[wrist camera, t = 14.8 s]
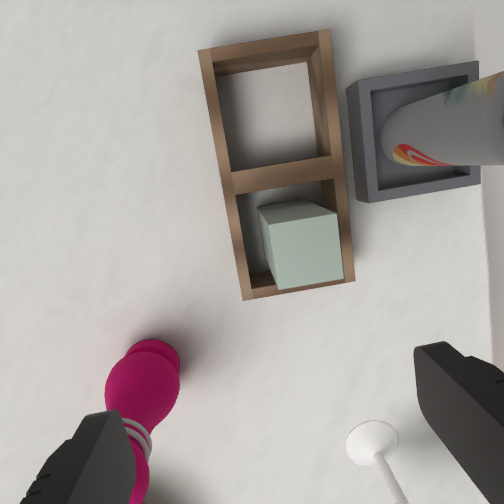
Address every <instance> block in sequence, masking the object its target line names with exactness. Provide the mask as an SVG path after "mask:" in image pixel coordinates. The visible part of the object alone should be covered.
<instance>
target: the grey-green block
mask: <svg viewBox="0 0 504 504" xmlns="http://www.w3.org/2000/svg"><path fill="white" fill-rule="evenodd" d="M257 212H258V218H259V224H260V231H261V237H262V243H263V249H264V254H265V257H266V259H267V262H268V264H269V267H270V270H271V272H272V275H273V277H274V280H275V282H276V285H277V287H278V290H281V289H287V288H293V287H299V286H304V285H310V284H316V283H322V282H327V281H333V280H339V279H344V276H343V267H342V257H341V248H340V239H339V230H338V220H337V213H335V212H332V211H330V210H328V209H325V208H323V207H321V206H318V205H316V204H314V203H311V202H309V201H307V200H304V199H303V200H297V201H291V202H286V203H280V204H274V205H268V206H262V207H257Z"/></svg>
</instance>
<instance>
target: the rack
mask: <svg viewBox="0 0 504 504" xmlns="http://www.w3.org/2000/svg"><path fill="white" fill-rule="evenodd" d="M198 55H199V61H200V66H201V72H202V77H203V83H204V89H205V94H206V100H207V105H208V111H209V116H210V122H211V127H212V133H213V138H214V144H215V149H216V155H217V160H218V166H219V172H220V177H221V183H222V188H223V194H224V199H225V205H226V210H227V216H228V221H229V227H230V232H231V238H232V243H233V249H234V255H235V260H236V266H237V271H238V277H239V282H240V288H241V293H242V299H243V301H245V300H251V299H257V298H262V297H268V296H274V295H279V294H285V293H291V292H296V291H302V290H308V289H314V288H319V287H325V286H331V285H336V284H342V283H348V282H353V281H356V280H355V270H354V260H353V250H352V240H351V231H350V221H349V211H348V201H347V191H346V181H345V171H344V162H343V152H342V142H341V132H340V122H339V112H338V103H337V93H336V83H335V73H334V63H333V53H332V44H331V34H330V29H327V30H321V31H314V32H308V33H302V34H296V35H290V36H284V37H277V38H271V39H265V40H259V41H253V42H247V43H240V44H234V45H228V46H222V47H216V48H210V49H203V50H198ZM301 62H307V65H308V74H309V82H310V91H311V99H312V108H313V117H314V125H315V134H316V142H317V151H318V157H316V158H310V159H304V160H298V161H292V162H286V163H280V164H274V165H268V166H262V167H257V168H251V169H245V170H239V171H233V172H231V168H230V163H229V157H228V151H227V145H226V139H225V134H224V128H223V122H222V116H221V111H220V105H219V99H218V93H217V88H216V82H215V77H216V76H222V75H228V74H234V73H240V72H246V71H252V70H258V69H265V68H271V67H277V66H283V65H289V64H295V63H301ZM320 180H321V185H322V193H323V202H324V208H325V209H328V210H330V211H332V212H335V213H337V220H338V230H339V239H340V248H341V257H342V267H343V276H344V279H339V280H333V281H327V282H322V283H316V284H310V285H304V286H299V287H293V288H287V289H281V290H278V287H277V285H276V282H275V280H274V277H273V275H272V272H271V271H265V272H259V273H254V274H249V272H248V266H247V261H246V255H245V249H244V243H243V237H242V232H241V226H240V220H239V214H238V209H237V203H236V197H235V195H238V194H244V193H250V192H256V191H262V190H267V189H273V188H279V187H285V186H291V185H297V184H303V183H309V182H314V181H320Z"/></svg>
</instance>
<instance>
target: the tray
mask: <svg viewBox="0 0 504 504" xmlns="http://www.w3.org/2000/svg"><path fill="white" fill-rule="evenodd" d="M477 80H479V61H473V62H467V63H461V64H455V65H449V66H443V67H436V68H430V69H424V70H418V71H412V72H406V73H400V74H394V75H388V76H382V77H376V78H370V79H364V80H358V81H357V82H355V83H354V84H352V85H351V86H349V87H348V88H346V95H347V105H348V116H349V126H350V137H351V147H352V157H353V168H354V178H355V189H356V199H357V200H358V201H362V202H366V203H373V202H378V201H384V200H390V199H396V198H402V197H408V196H413V195H419V194H425V193H431V192H437V191H442V190H448V189H454V188H460V187H466V186H472V185H477V184H481V176H480V165H456V166H406V165H399V164H396V163H394V162H392V161H391V160H390V159H388V158H387V157H386V155H385V154H384V152H383V150H382V148H381V143H380V134H381V129H382V126H383V124H384V122H385V121H386V119H387V118H388V117H389V116H390V115H391V114H392V113H393V112H394V111H396V110H397V109H399V108H401V107H403V106H406V105H409V104H411V103H414V102H417V101H420V100H423V99H426V98H428V97H431V96H434V95H437V94H440V93H443V92H445V91H448V90H451V89H454V88H457V87H460V86H463V85H465V84H468V83H471V82H474V81H477Z"/></svg>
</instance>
